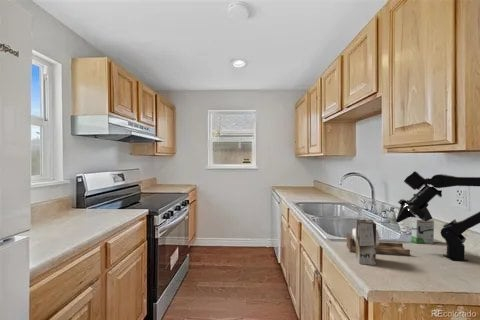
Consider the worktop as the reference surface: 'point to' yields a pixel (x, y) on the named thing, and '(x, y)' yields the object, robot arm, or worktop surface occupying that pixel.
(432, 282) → the worktop surface
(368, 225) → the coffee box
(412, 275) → the worktop surface
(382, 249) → the brown tray
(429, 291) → the worktop surface
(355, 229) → the kitchen roll
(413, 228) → the ink box
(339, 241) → the worktop surface
